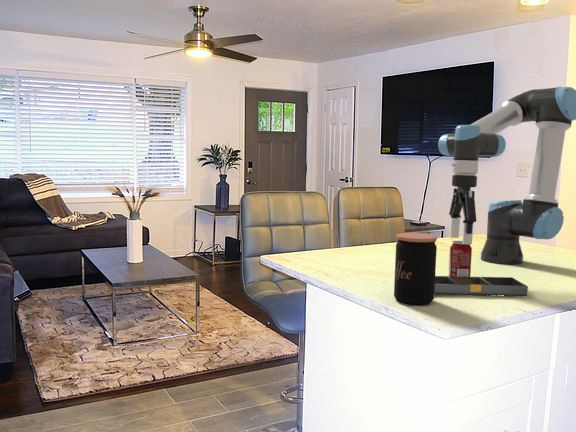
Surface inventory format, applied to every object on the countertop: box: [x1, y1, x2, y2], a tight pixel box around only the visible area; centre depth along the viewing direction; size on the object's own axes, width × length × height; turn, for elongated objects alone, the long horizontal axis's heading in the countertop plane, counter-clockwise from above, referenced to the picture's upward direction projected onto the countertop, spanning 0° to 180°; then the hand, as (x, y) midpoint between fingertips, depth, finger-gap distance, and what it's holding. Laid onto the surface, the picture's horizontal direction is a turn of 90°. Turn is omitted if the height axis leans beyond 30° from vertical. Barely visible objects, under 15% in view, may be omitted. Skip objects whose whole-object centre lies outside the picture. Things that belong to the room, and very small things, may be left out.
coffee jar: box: [393, 232, 438, 307], centre depth 150 cm, size 11×11×18 cm
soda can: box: [447, 240, 473, 277], centre depth 179 cm, size 7×7×12 cm
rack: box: [434, 275, 529, 297], centre depth 163 cm, size 30×12×3 cm, turn 90°
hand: (460, 240), depth 178 cm, fingers open, 13 cm apart
